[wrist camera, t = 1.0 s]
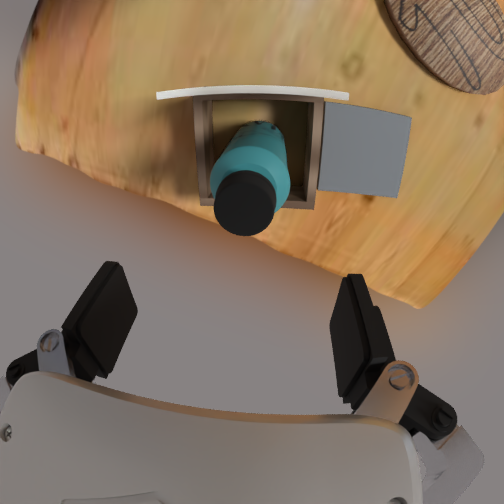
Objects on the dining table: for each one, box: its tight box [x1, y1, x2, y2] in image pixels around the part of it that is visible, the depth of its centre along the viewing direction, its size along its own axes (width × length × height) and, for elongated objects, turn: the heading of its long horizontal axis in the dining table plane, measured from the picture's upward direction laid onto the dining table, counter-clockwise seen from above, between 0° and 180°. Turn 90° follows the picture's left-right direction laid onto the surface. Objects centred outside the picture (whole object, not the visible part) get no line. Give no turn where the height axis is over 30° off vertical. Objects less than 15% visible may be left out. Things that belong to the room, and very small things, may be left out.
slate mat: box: [317, 101, 412, 198], centre depth 32 cm, size 12×12×1 cm
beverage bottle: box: [210, 120, 290, 236], centre depth 25 cm, size 6×7×20 cm
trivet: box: [384, 0, 504, 95], centre depth 16 cm, size 25×25×2 cm
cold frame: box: [156, 85, 349, 210], centre depth 27 cm, size 15×14×15 cm
